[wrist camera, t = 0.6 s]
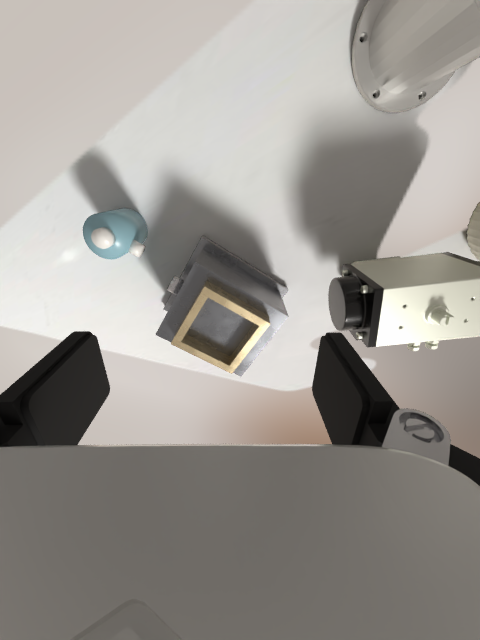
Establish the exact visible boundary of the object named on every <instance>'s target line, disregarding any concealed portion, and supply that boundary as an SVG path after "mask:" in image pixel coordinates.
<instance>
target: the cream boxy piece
mask: <svg viewBox="0 0 480 640" xmlns="http://www.w3.org/2000/svg"><path fill="white" fill-rule="evenodd" d="M329 310H330V315H331V319H332V322H333V324H334V326H335V328H336V329H337V330H339V331H345V330H349V331H350V332H351V334H352V335H353V336H354V338H355V339H356V340H362V341H363V342H364V344H365V345H366V346H367V347H376V346H386V345H397V344H407V343H408V347H407V348H408V349H409V350H411V351H418V350H419V345H420V343H421V342H426V343H425V346H426V347H427V348H429V349H436V348H437V347H438V343H439V340H448V339H458V338H467V337H478V336H480V261H478V262H477V261H474V260H471V259H468V258H464V257H461V256H458V255H455V254H452V253H449V252H445V253H437V254H428V255H420V256H411V257H403V258H401V257H390V258H382V259H373V260H364V261H356V262H353V263H352V264H343V269H342V277H338V278H334V279H333V280H332V281H331V283H330V287H329Z"/></svg>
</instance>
